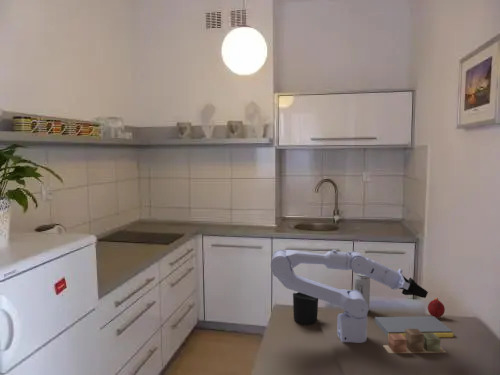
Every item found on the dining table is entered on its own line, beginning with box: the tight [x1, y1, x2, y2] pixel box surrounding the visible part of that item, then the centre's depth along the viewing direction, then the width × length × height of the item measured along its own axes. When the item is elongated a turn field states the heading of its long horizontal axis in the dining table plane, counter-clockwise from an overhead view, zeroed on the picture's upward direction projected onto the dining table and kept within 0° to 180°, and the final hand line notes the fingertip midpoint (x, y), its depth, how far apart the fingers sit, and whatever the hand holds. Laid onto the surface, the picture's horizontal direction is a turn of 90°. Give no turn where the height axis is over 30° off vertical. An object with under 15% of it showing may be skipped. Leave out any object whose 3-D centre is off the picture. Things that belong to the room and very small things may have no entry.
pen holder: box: [292, 292, 319, 326], centre depth 140 cm, size 9×9×10 cm
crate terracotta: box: [387, 334, 407, 352], centre depth 117 cm, size 4×4×4 cm
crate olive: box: [423, 333, 441, 352], centre depth 118 cm, size 4×4×4 cm
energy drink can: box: [353, 273, 371, 308], centre depth 149 cm, size 6×6×15 cm
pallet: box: [382, 329, 447, 354], centre depth 118 cm, size 18×5×7 cm, turn 91°
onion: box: [427, 297, 446, 319], centre depth 142 cm, size 6×6×8 cm
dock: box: [374, 315, 454, 339], centre depth 132 cm, size 22×13×2 cm, turn 92°
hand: (421, 292), depth 122 cm, fingers open, 7 cm apart
